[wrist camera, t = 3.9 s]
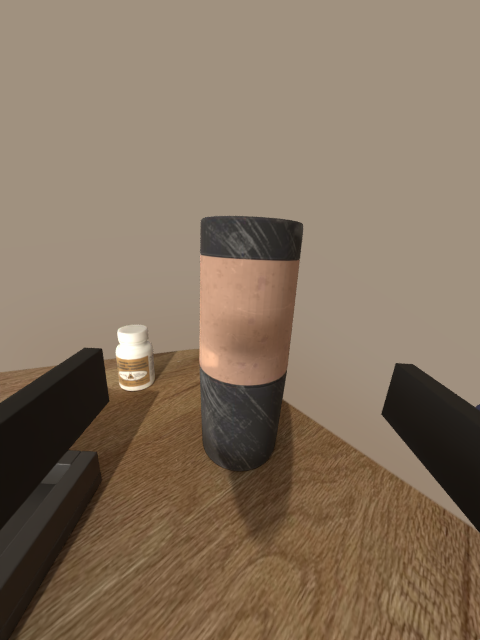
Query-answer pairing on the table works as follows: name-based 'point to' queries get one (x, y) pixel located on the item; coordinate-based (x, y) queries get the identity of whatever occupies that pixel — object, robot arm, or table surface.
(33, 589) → the dock pad
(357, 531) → the table surface
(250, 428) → the travel mug
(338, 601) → the table surface
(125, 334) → the pill bottle
